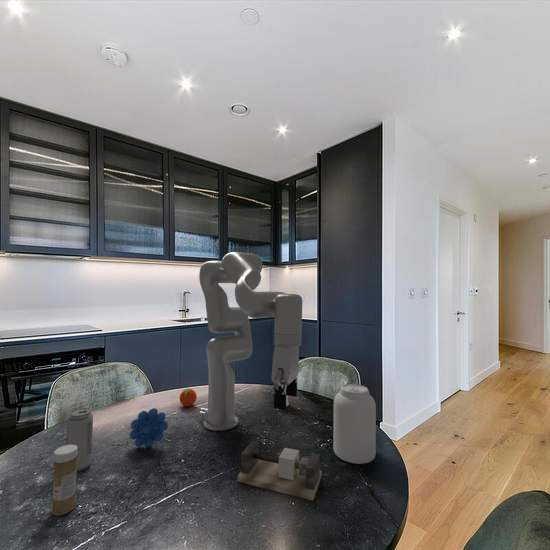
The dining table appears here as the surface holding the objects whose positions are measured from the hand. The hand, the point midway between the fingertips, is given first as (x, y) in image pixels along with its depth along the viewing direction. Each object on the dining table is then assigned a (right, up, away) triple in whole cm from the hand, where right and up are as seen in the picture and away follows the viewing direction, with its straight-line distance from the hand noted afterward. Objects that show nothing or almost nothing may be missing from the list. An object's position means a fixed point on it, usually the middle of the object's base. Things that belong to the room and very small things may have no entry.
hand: (285, 401), depth 85 cm
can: (+21, -20, +10) cm, 31 cm away
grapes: (-43, -19, +13) cm, 49 cm away
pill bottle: (-51, -19, -15) cm, 56 cm away
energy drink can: (-57, -19, +2) cm, 61 cm away
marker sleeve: (+1, -17, -4) cm, 18 cm away
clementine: (-39, -20, +45) cm, 63 cm away
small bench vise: (-2, -19, -3) cm, 20 cm away
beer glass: (0, -21, +48) cm, 52 cm away
